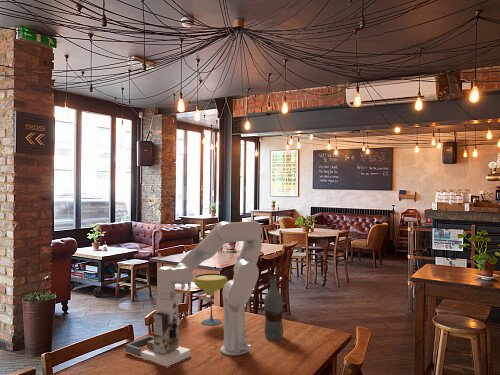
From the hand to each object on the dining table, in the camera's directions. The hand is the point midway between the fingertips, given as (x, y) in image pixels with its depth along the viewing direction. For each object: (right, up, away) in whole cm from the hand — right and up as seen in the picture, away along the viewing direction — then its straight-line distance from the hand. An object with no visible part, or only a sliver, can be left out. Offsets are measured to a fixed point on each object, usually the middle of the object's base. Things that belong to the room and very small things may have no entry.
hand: (166, 336), depth 184 cm
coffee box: (0, -6, 0) cm, 6 cm away
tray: (-11, -10, +8) cm, 17 cm away
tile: (-5, -6, +4) cm, 9 cm away
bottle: (+48, -9, +24) cm, 54 cm away
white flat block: (0, -9, 0) cm, 9 cm away
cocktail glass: (+15, -10, +48) cm, 51 cm away
